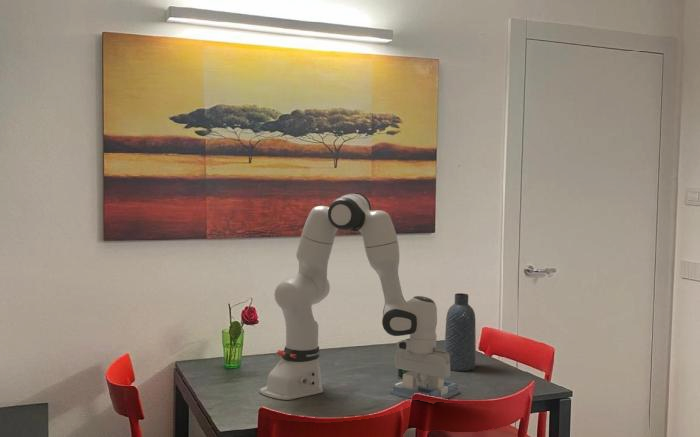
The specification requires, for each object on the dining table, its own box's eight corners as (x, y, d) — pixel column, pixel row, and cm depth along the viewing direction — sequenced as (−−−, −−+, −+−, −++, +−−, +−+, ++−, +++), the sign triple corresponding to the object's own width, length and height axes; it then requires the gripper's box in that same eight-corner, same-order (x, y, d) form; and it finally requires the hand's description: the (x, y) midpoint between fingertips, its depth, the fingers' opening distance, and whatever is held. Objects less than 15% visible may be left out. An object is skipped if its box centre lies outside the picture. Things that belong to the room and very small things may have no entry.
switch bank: (433, 404, 253) (433, 394, 252) (390, 393, 263) (390, 384, 263) (460, 392, 266) (460, 383, 266) (418, 382, 276) (418, 374, 276)
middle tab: (437, 394, 259) (438, 376, 259) (427, 391, 262) (428, 374, 261) (443, 391, 262) (444, 374, 261) (433, 389, 264) (433, 372, 264)
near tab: (412, 393, 259) (412, 376, 259) (402, 391, 262) (402, 373, 261) (418, 391, 262) (418, 373, 261) (408, 389, 264) (408, 371, 264)
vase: (474, 363, 304) (476, 292, 301) (476, 372, 292) (478, 297, 289) (443, 362, 305) (445, 291, 303) (443, 370, 293) (445, 296, 291)
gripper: (454, 349, 253) (453, 390, 254) (403, 338, 266) (402, 378, 267) (444, 352, 248) (443, 395, 250) (392, 342, 261) (391, 382, 262)
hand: (421, 386), depth 259 cm, fingers closed
